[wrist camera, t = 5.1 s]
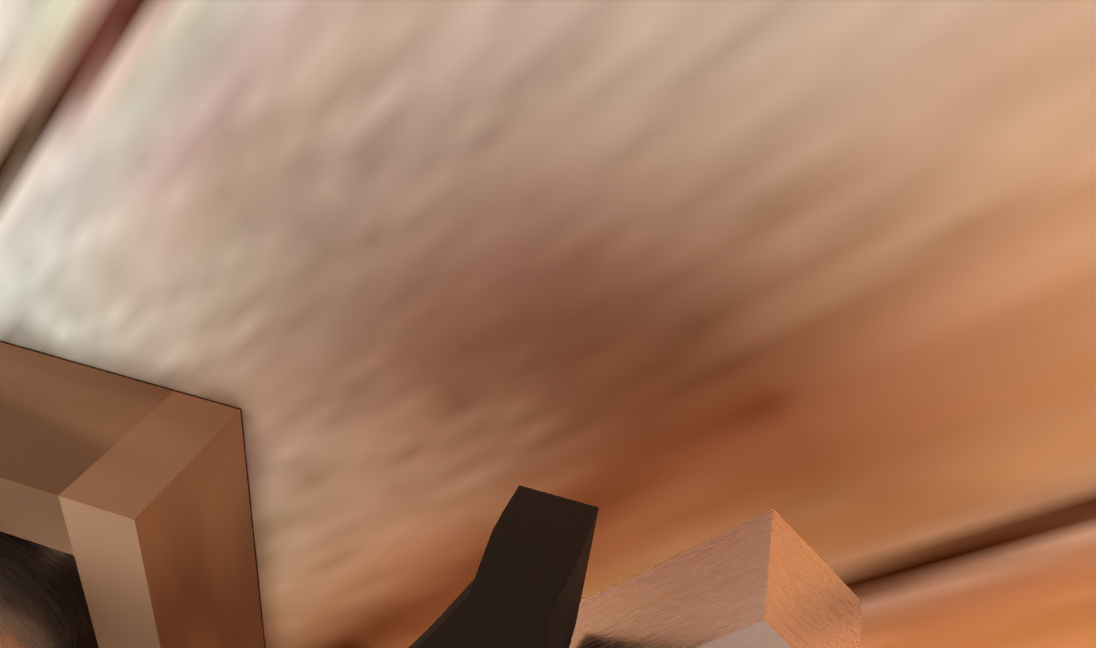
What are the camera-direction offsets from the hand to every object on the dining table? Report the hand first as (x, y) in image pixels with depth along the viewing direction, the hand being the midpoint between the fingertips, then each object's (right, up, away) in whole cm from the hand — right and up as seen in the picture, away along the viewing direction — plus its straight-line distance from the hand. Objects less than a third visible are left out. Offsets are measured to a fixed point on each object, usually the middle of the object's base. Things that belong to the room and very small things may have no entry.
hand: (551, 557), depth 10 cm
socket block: (-10, -1, +8) cm, 13 cm away
